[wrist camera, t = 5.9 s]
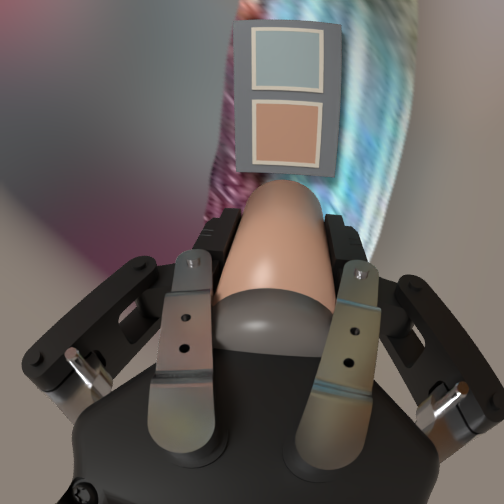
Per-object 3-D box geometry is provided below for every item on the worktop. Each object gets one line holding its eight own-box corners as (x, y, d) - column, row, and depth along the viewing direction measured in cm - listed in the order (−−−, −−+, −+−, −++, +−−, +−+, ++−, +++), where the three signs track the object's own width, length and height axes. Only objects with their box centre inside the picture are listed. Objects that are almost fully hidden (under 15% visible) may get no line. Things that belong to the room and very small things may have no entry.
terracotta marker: (229, 203, 14) (164, 352, 7) (297, 165, 12) (300, 310, 5) (271, 258, 16) (248, 411, 8) (335, 229, 14) (361, 389, 7)
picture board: (235, 23, 19) (233, 20, 18) (339, 26, 18) (341, 24, 17) (237, 169, 28) (235, 172, 27) (333, 174, 27) (334, 177, 26)
